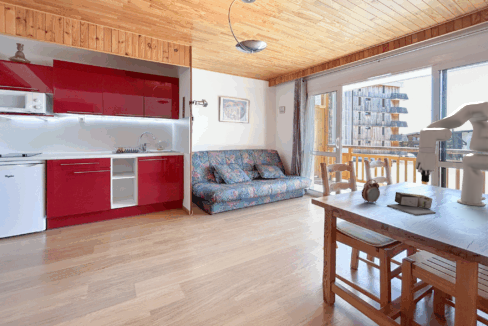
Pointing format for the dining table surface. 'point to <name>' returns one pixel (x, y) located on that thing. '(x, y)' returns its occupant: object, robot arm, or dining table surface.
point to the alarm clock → (371, 192)
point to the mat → (411, 209)
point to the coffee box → (413, 200)
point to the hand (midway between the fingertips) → (425, 181)
